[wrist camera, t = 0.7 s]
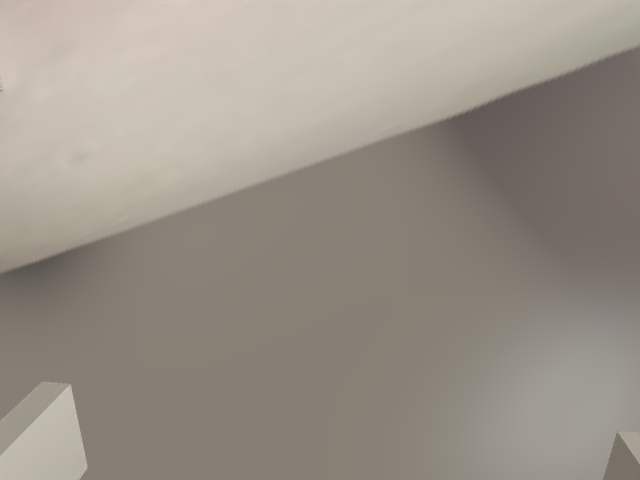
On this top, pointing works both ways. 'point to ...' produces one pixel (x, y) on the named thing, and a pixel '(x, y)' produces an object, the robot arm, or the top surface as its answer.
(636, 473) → the robot arm
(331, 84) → the top surface
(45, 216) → the top surface
